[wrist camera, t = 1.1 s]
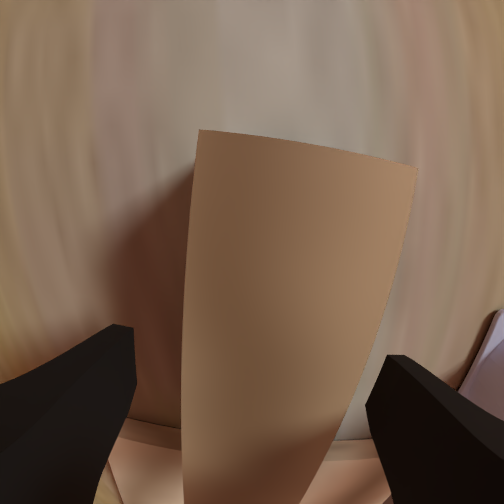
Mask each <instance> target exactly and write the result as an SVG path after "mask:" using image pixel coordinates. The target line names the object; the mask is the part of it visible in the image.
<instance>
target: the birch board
mask: <svg viewBox="0 0 504 504" xmlns="http://www.w3.org/2000/svg"><path fill="white" fill-rule="evenodd" d="M108 460H109V463H110V466H111V469H112V472H113V475H114V478H115V481H116V484H117V487H118V490H119V492H120V495H121V498H122V500H123V503H124V504H184V495H183V474H182V440H181V429H177V428H172V427H166V426H161V425H156V424H151V423H147V422H142V421H138V420H134V419H129V418H126V419H125V421H124V424H123V426H122V428H121V430H120V433H119V435H118V437H117V440H116V442H115V444H114V446H113V449H112V451H111V453H110V455H109V458H108ZM390 494H391V491H390V488H389V485H388V482H387V479H386V476H385V473H384V470H383V467H382V465H381V462H380V459H379V456H378V453H377V450H376V447H375V444H374V442H373V439H365V440H343V441H333V442H332V444H331V446H330V448H329V450H328V452H327V454H326V456H325V458H324V460H323V462H322V464H321V466H320V467H319V469H318V471H317V473H316V475H315V477H314V479H313V481H312V482H311V484H310V486H309V488H308V490H307V491H306V493H305V495H304V497H303V498H302V500H301V502H300V503H299V504H382V503H383V502H384V501H385V500H386V499H387V498H388V497H389V495H390Z"/></svg>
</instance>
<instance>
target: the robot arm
mask: <svg viewBox="0 0 504 504" xmlns="http://www.w3.org/2000/svg"><path fill="white" fill-rule="evenodd" d="M136 385H137V378H136V365H135V350H134V329H133V328H131V327H126V326H121V325H116V324H112V325H110V326H108V327H106V328H105V329H103V330H101V331H100V332H98V333H96V334H95V335H93V336H91V337H90V338H88V339H87V340H85V341H83V342H82V343H80V344H78V345H77V346H75V347H73V348H72V349H70V350H68V351H67V352H65V353H63V354H62V355H60V356H58V357H56V358H54V359H53V360H51V361H49V362H47V363H45V364H43V365H41V366H39V367H37V368H36V369H34V370H32V371H30V372H28V373H26V374H24V375H21V376H19V377H17V378H15V379H12V380H10V381H7V382H5V383H2V384H0V504H93V501H94V497H95V494H96V490H97V486H98V483H99V480H100V477H101V474H102V472H103V469H104V467H105V465H106V462H107V460H108V458H109V455H110V453H111V451H112V449H113V446H114V444H115V442H116V440H117V437H118V435H119V433H120V430H121V428H122V426H123V424H124V421H125V419H126V417H127V415H128V412H129V409H130V406H131V402H132V399H133V396H134V392H135V389H136ZM365 407H366V412H367V418H368V423H369V428H370V433H371V436H372V439H373V442H374V444H375V447H376V450H377V453H378V456H379V459H380V462H381V465H382V467H383V470H384V473H385V476H386V479H387V482H388V485H389V488H390V491H391V495H392V499H393V503H394V504H504V309H501V310H499V311H498V312H497V313H496V314H495V316H494V318H493V320H492V323H491V325H490V328H489V330H488V332H487V335H486V337H485V339H484V341H483V343H482V346H481V348H480V350H479V352H478V354H477V356H476V358H475V360H474V362H473V364H472V366H471V368H470V370H469V372H468V374H467V376H466V378H465V380H464V382H463V383H462V385H461V387H460V389H459V391H458V392H457V391H455V390H454V389H453V388H451V387H450V386H449V385H447V384H446V383H444V382H443V381H442V380H440V379H439V378H438V377H436V376H435V375H433V374H432V373H431V372H429V371H428V370H427V369H425V368H424V367H422V366H421V365H420V364H418V363H417V362H415V361H414V360H412V359H410V358H409V357H407V356H405V355H387V356H386V359H385V361H384V364H383V366H382V369H381V371H380V373H379V376H378V378H377V380H376V382H375V385H374V387H373V389H372V391H371V394H370V396H369V398H368V400H367V402H366V404H365Z"/></svg>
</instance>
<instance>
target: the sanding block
mask: <svg viewBox="0 0 504 504" xmlns="http://www.w3.org/2000/svg"><path fill="white" fill-rule="evenodd" d="M417 174H418V168H416V167H412V166H408V165H404V164H401V163H397V162H393V161H389V160H384V159H380V158H376V157H372V156H367V155H363V154H358V153H354V152H349V151H344V150H339V149H334V148H329V147H324V146H318V145H313V144H307V143H301V142H295V141H289V140H283V139H276V138H269V137H262V136H255V135H247V134H238V133H230V132H220V131H210V130H199V134H198V142H197V150H196V159H195V168H194V177H193V186H192V196H191V207H190V218H189V229H188V242H187V255H186V270H185V287H184V306H183V329H182V365H181V440H182V474H183V495H184V504H299V503H300V502H301V500H302V498H303V497H304V495H305V493H306V491H307V490H308V488H309V486H310V484H311V482H312V481H313V479H314V477H315V475H316V473H317V471H318V469H319V467H320V466H321V464H322V462H323V460H324V458H325V456H326V454H327V452H328V450H329V448H330V446H331V444H332V442H333V440H334V438H335V435H336V433H337V431H338V429H339V427H340V425H341V423H342V420H343V418H344V416H345V414H346V411H347V409H348V407H349V405H350V402H351V400H352V398H353V395H354V393H355V390H356V388H357V385H358V383H359V380H360V378H361V375H362V373H363V370H364V368H365V365H366V362H367V360H368V357H369V354H370V352H371V349H372V346H373V343H374V340H375V338H376V335H377V332H378V329H379V326H380V323H381V320H382V317H383V314H384V310H385V307H386V304H387V301H388V298H389V294H390V291H391V287H392V284H393V280H394V277H395V273H396V270H397V266H398V262H399V258H400V254H401V250H402V246H403V242H404V238H405V234H406V229H407V225H408V220H409V216H410V211H411V206H412V201H413V196H414V191H415V185H416V180H417Z"/></svg>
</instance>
